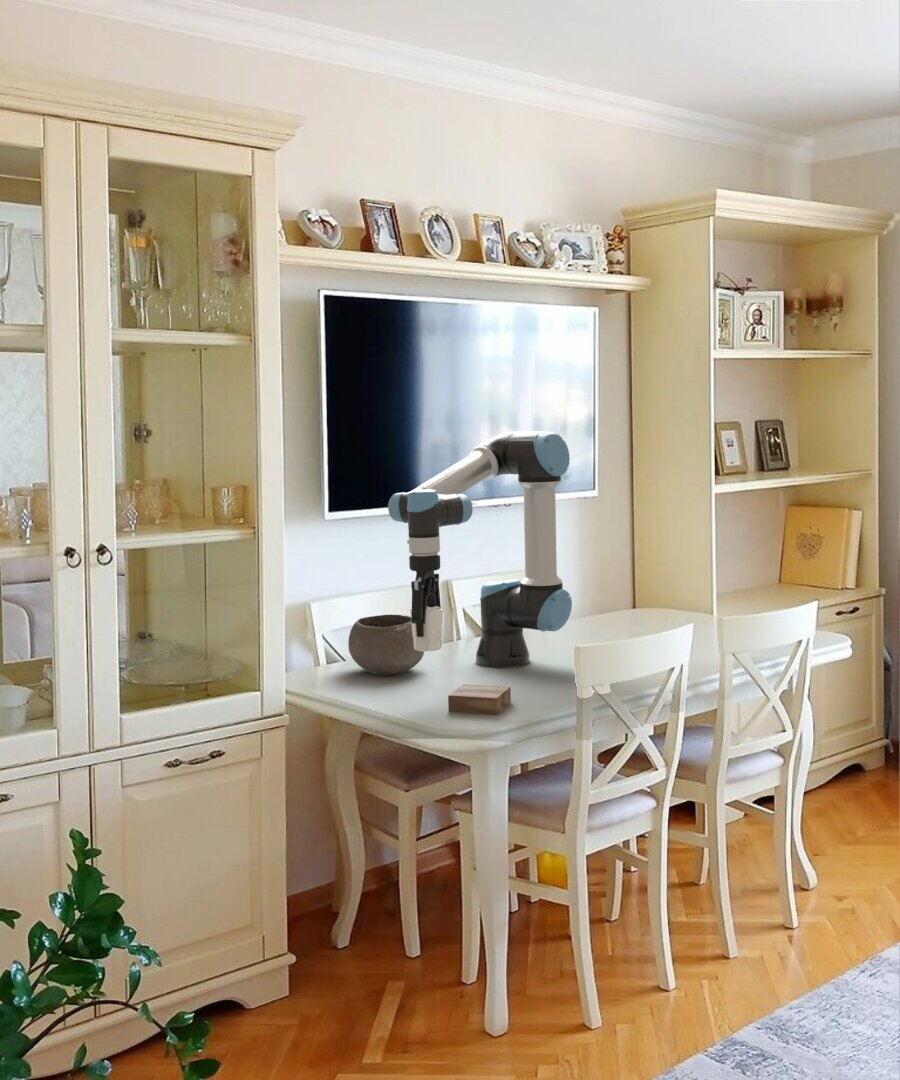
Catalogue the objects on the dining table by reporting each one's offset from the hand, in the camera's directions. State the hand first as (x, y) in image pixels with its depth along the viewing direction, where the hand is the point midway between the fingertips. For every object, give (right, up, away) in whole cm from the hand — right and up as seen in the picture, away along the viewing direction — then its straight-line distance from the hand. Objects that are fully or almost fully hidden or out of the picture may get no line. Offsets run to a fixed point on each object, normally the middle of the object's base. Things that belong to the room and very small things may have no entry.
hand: (427, 645), depth 308 cm
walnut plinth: (+13, -14, -5) cm, 20 cm away
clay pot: (-12, -10, +36) cm, 39 cm away
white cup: (0, -1, 0) cm, 1 cm away
